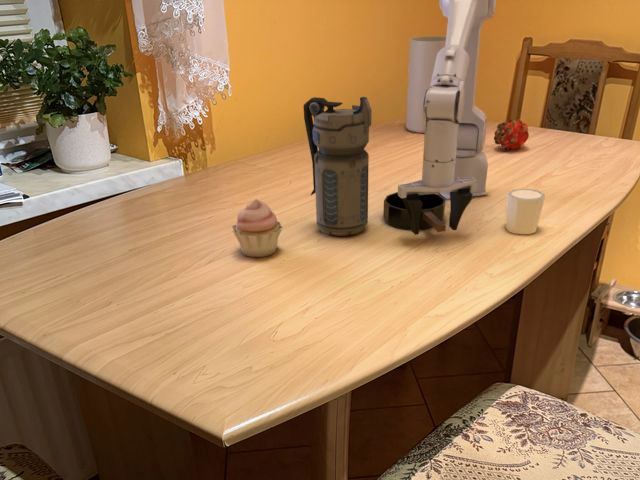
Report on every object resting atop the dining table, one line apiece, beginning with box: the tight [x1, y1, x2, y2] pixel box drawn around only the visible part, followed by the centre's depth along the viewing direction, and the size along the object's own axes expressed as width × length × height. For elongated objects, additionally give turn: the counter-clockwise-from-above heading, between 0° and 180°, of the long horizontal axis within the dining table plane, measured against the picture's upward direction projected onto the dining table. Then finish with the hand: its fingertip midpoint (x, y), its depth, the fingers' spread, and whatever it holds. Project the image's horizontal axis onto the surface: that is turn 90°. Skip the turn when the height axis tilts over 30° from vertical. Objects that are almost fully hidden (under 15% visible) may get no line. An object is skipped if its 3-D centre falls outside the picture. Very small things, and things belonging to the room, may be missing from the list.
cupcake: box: [231, 199, 284, 258], centre depth 115 cm, size 9×9×10 cm
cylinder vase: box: [405, 36, 446, 134], centre depth 189 cm, size 12×12×25 cm
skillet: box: [382, 191, 447, 233], centre depth 126 cm, size 20×12×4 cm, turn 13°
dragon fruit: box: [493, 118, 530, 152], centre depth 172 cm, size 8×8×12 cm
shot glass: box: [505, 188, 546, 235], centre depth 122 cm, size 7×7×7 cm
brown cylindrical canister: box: [303, 96, 372, 237], centre depth 120 cm, size 10×13×25 cm
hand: (434, 230), depth 120 cm, fingers open, 7 cm apart
